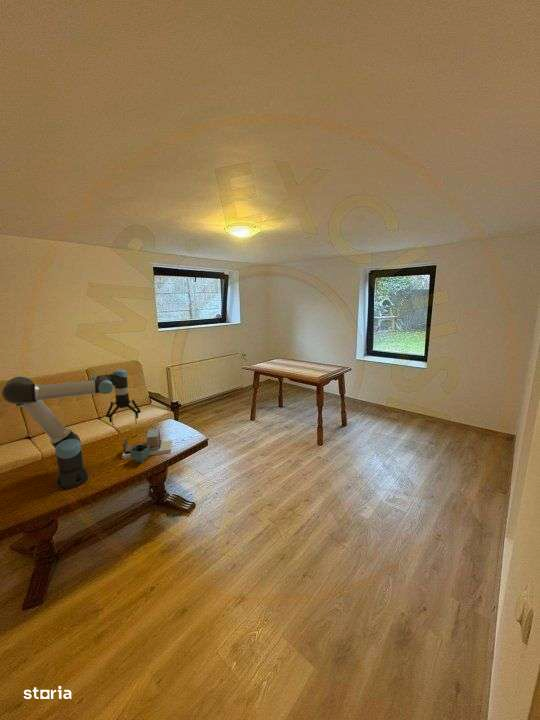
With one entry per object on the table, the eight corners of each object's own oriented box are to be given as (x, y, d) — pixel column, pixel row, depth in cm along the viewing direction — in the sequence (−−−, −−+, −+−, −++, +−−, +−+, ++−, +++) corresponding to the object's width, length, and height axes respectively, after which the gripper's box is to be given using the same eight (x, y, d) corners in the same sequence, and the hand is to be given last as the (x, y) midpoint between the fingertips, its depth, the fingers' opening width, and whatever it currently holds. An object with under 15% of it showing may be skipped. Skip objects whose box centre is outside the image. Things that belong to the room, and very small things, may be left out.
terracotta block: (148, 447, 198) (148, 439, 196) (150, 443, 203) (149, 435, 202) (158, 446, 199) (157, 437, 198) (159, 442, 205) (158, 434, 204)
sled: (123, 452, 193) (122, 444, 192) (126, 447, 200) (125, 438, 199) (160, 448, 199) (159, 439, 198) (161, 442, 206) (160, 434, 205)
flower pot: (142, 465, 183) (141, 452, 181) (130, 463, 185) (128, 450, 183) (150, 458, 192) (149, 445, 190) (139, 456, 193) (137, 444, 192)
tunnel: (147, 451, 195) (146, 437, 193) (150, 443, 207) (148, 429, 205) (158, 450, 197) (157, 436, 195) (160, 441, 208) (159, 428, 206)
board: (122, 458, 190) (122, 455, 190) (126, 448, 204) (126, 445, 203) (170, 452, 198) (170, 449, 198) (171, 443, 212) (171, 439, 211)
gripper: (99, 397, 178) (102, 430, 182) (143, 392, 189) (145, 423, 193) (99, 394, 184) (103, 425, 188) (142, 389, 195) (144, 419, 199)
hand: (124, 424), depth 191 cm, fingers open, 13 cm apart
